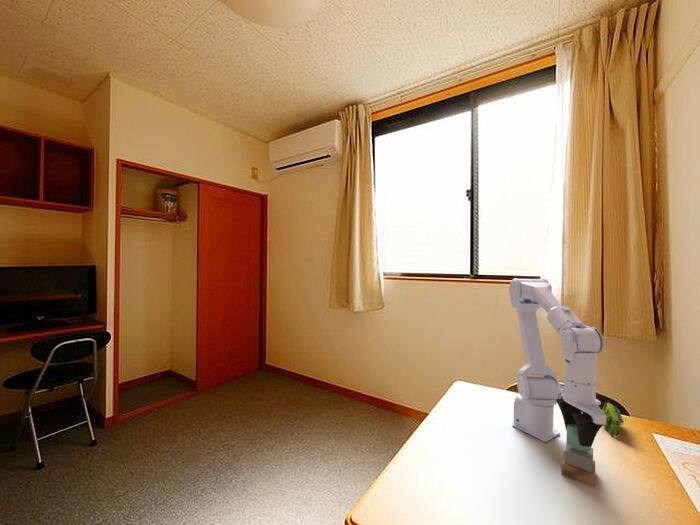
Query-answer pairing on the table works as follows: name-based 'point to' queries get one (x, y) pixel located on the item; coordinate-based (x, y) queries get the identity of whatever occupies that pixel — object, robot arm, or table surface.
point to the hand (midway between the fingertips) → (578, 438)
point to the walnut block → (578, 473)
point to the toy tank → (612, 419)
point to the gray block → (579, 458)
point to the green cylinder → (575, 438)
